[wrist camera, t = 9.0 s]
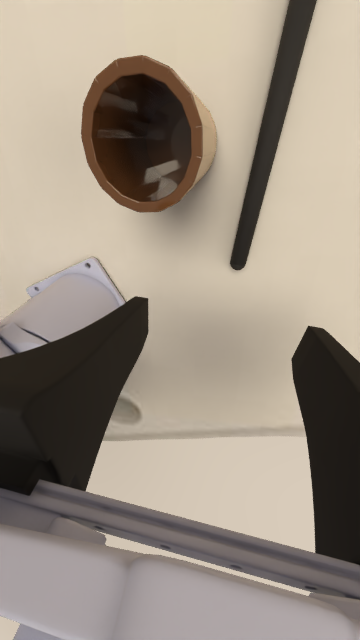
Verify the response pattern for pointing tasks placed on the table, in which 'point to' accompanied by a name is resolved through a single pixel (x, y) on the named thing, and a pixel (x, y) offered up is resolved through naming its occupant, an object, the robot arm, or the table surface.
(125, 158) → the pen cup
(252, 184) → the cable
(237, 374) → the table surface
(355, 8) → the table surface
